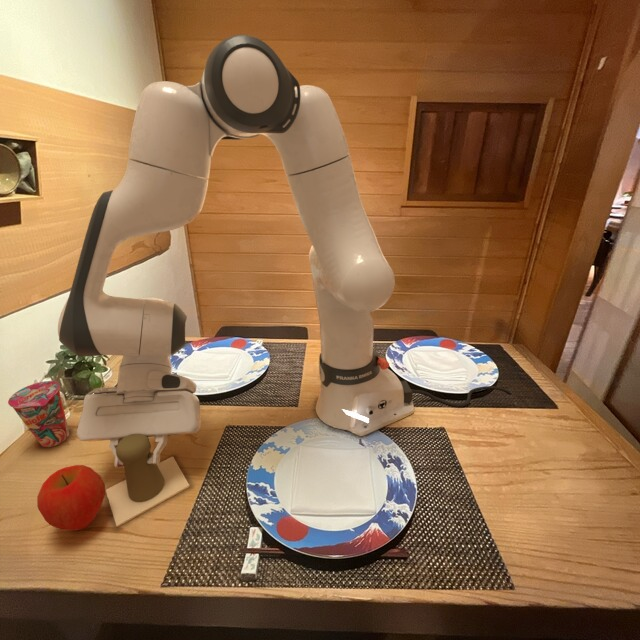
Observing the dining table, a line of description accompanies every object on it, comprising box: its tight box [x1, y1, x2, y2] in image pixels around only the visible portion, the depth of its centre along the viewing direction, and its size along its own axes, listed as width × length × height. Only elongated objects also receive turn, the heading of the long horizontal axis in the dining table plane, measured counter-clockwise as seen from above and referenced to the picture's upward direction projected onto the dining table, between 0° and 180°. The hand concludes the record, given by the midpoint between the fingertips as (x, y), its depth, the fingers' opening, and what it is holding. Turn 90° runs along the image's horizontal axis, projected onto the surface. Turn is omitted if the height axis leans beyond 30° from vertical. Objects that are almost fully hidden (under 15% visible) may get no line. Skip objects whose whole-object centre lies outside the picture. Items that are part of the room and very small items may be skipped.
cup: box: [7, 380, 70, 448], centre depth 74 cm, size 9×8×12 cm
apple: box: [36, 464, 106, 531], centre depth 56 cm, size 9×8×11 cm
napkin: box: [105, 456, 191, 528], centre depth 64 cm, size 12×9×1 cm
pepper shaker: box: [116, 434, 165, 502], centre depth 62 cm, size 6×6×11 cm
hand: (137, 465), depth 61 cm, fingers closed on pepper shaker, 4 cm apart
